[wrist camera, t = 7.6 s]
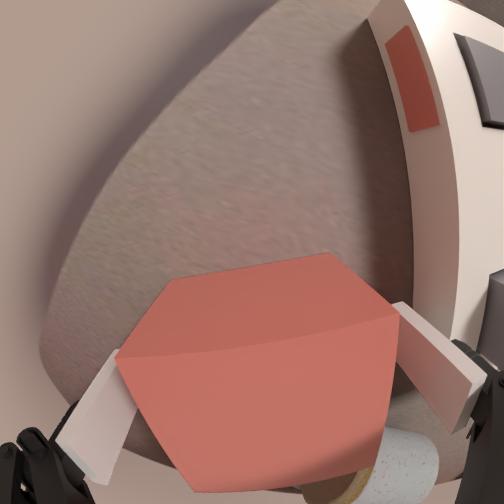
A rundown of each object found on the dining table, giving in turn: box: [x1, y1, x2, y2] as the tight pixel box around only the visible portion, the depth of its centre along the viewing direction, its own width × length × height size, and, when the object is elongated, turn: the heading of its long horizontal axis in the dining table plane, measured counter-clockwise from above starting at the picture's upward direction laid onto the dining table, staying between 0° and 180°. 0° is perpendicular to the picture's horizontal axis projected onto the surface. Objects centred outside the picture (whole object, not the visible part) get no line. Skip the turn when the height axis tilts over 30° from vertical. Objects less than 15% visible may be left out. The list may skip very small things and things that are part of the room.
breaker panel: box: [367, 0, 504, 370], centre depth 11 cm, size 22×10×4 cm, turn 10°
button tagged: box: [456, 35, 504, 130], centre depth 9 cm, size 4×4×4 cm
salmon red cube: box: [114, 253, 400, 493], centre depth 11 cm, size 8×8×7 cm
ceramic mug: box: [293, 427, 439, 504], centre depth 14 cm, size 11×8×8 cm
